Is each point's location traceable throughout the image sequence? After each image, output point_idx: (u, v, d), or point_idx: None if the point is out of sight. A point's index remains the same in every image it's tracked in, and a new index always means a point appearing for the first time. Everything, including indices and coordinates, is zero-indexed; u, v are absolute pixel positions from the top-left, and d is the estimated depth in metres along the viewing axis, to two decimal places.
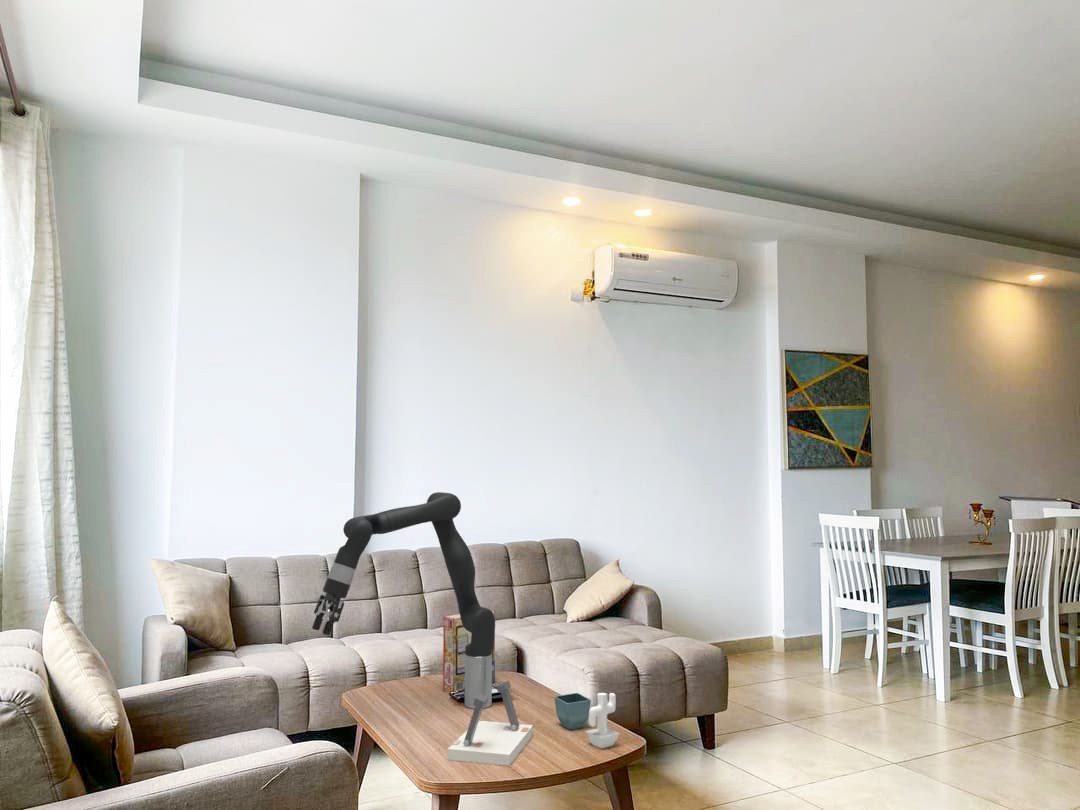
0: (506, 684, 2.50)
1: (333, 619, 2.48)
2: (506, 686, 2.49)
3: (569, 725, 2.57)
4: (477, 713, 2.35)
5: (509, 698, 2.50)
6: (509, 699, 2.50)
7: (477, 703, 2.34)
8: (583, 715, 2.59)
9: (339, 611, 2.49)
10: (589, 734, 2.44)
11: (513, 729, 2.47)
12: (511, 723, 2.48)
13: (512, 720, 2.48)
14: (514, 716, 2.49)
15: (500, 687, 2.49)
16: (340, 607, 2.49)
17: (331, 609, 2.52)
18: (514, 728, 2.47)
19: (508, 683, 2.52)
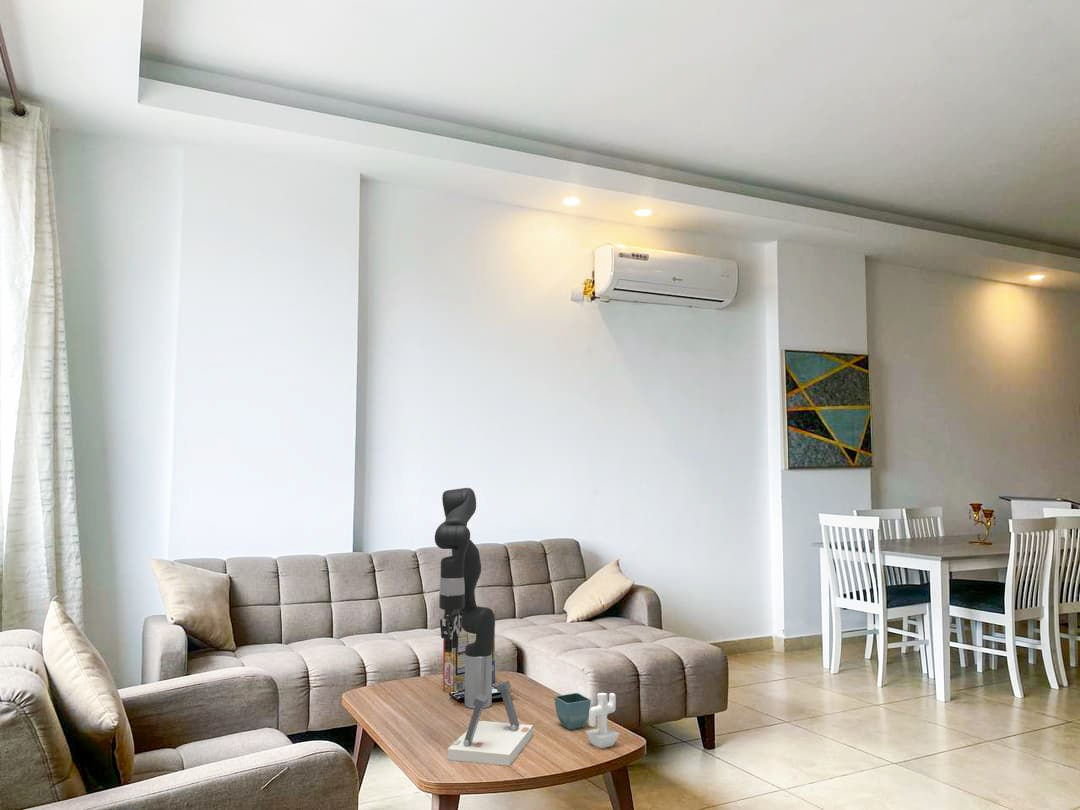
0: (506, 684, 2.50)
1: None
2: (506, 686, 2.49)
3: (569, 725, 2.57)
4: (477, 713, 2.35)
5: (509, 698, 2.50)
6: (509, 699, 2.50)
7: (477, 703, 2.34)
8: (583, 715, 2.59)
9: None
10: (589, 734, 2.44)
11: (513, 729, 2.47)
12: (511, 723, 2.48)
13: (512, 720, 2.48)
14: (514, 716, 2.49)
15: (500, 687, 2.49)
16: None
17: None
18: (514, 728, 2.47)
19: (508, 683, 2.52)
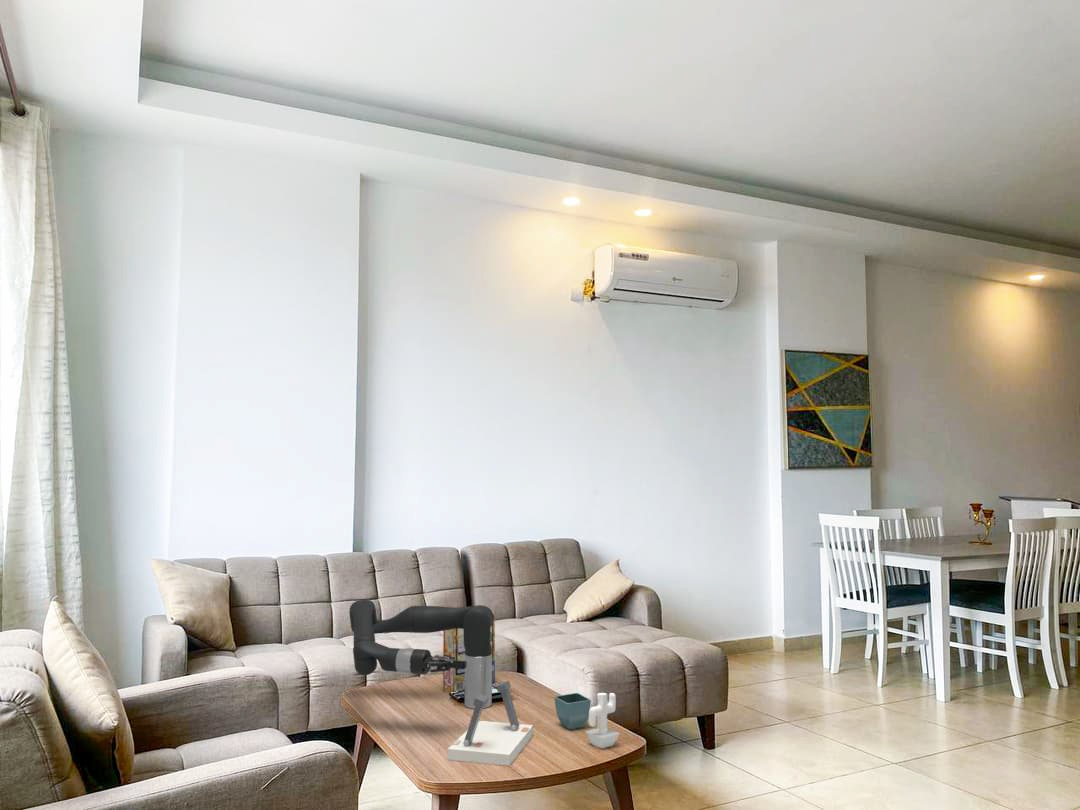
0: (506, 684, 2.50)
1: None
2: (506, 686, 2.49)
3: (569, 725, 2.57)
4: (477, 713, 2.35)
5: (509, 698, 2.50)
6: (509, 699, 2.50)
7: (477, 703, 2.34)
8: (583, 715, 2.59)
9: None
10: (589, 734, 2.44)
11: (513, 729, 2.47)
12: (511, 723, 2.48)
13: (512, 720, 2.48)
14: (514, 716, 2.49)
15: (500, 687, 2.49)
16: None
17: None
18: (514, 728, 2.47)
19: (508, 683, 2.52)
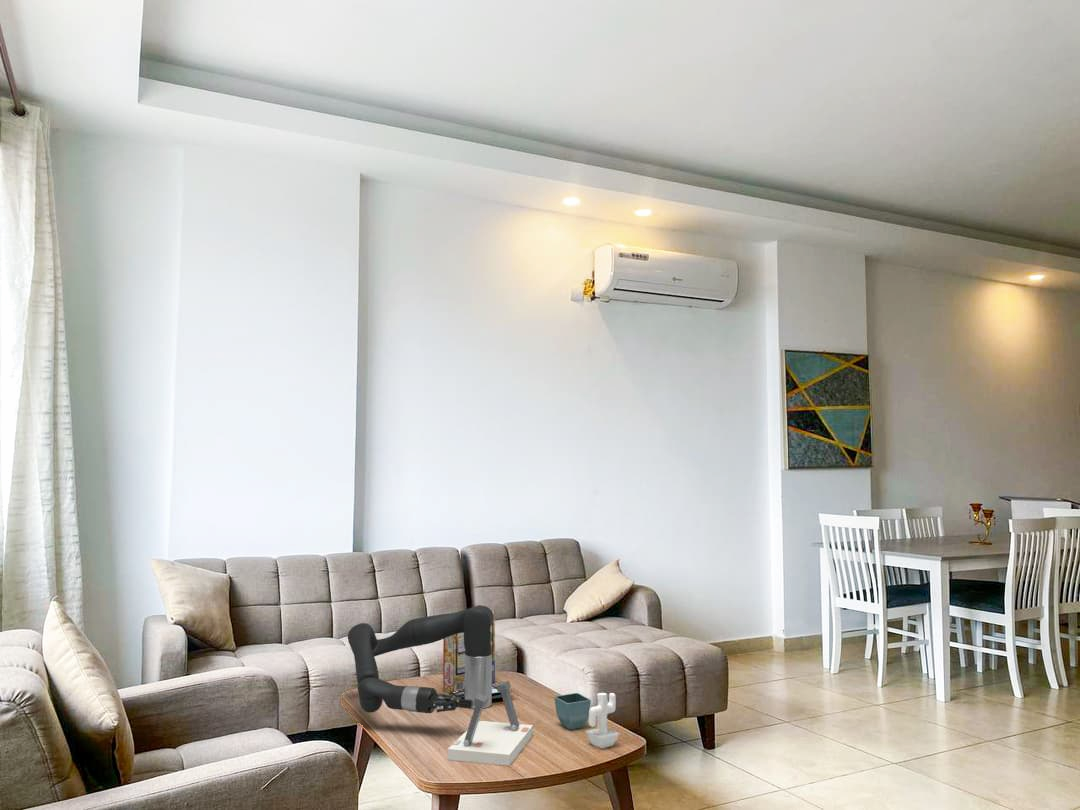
0: (506, 684, 2.50)
1: None
2: (506, 686, 2.49)
3: (569, 725, 2.57)
4: (477, 713, 2.35)
5: (509, 698, 2.50)
6: (509, 699, 2.50)
7: (477, 703, 2.34)
8: (583, 715, 2.59)
9: None
10: (589, 734, 2.44)
11: (513, 729, 2.47)
12: (511, 723, 2.48)
13: (512, 720, 2.48)
14: (514, 716, 2.49)
15: (500, 687, 2.49)
16: None
17: None
18: (514, 728, 2.47)
19: (508, 683, 2.52)
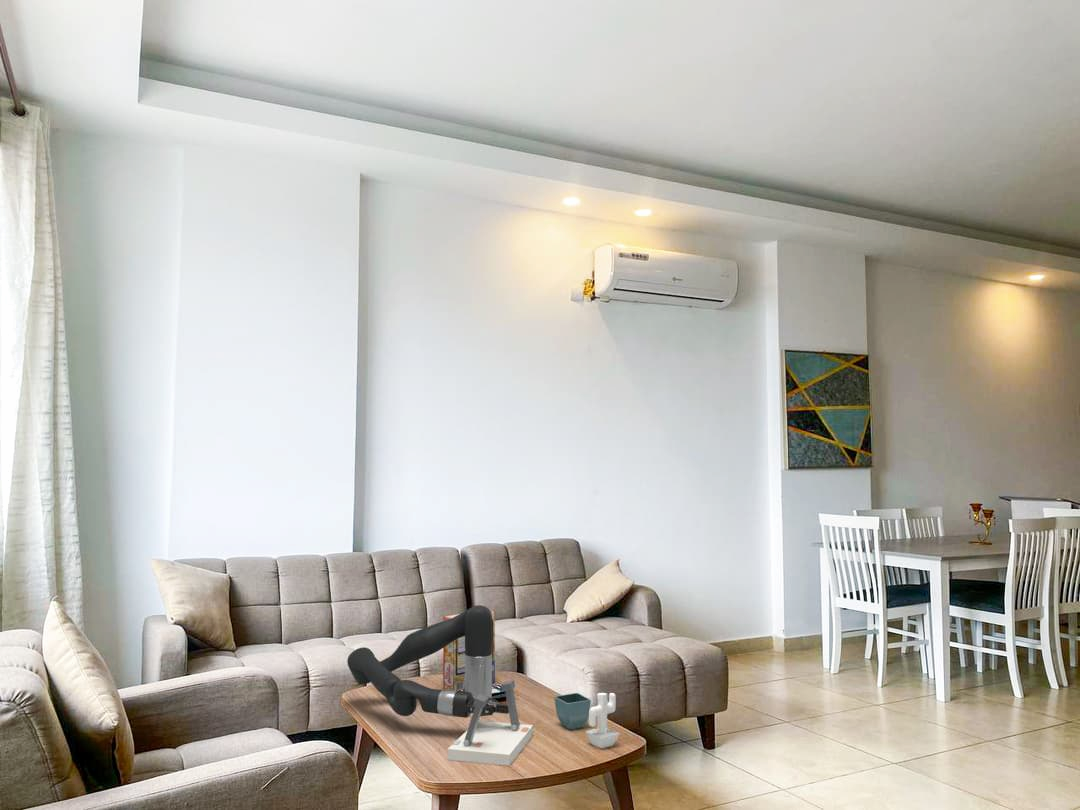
0: (511, 683, 2.50)
1: None
2: (511, 686, 2.49)
3: (569, 725, 2.57)
4: (477, 713, 2.35)
5: (512, 698, 2.50)
6: (513, 698, 2.50)
7: (477, 703, 2.34)
8: (583, 715, 2.59)
9: None
10: (589, 734, 2.44)
11: (513, 729, 2.47)
12: (512, 723, 2.48)
13: (513, 720, 2.48)
14: (515, 716, 2.49)
15: (505, 686, 2.49)
16: None
17: None
18: (514, 728, 2.47)
19: (513, 683, 2.51)
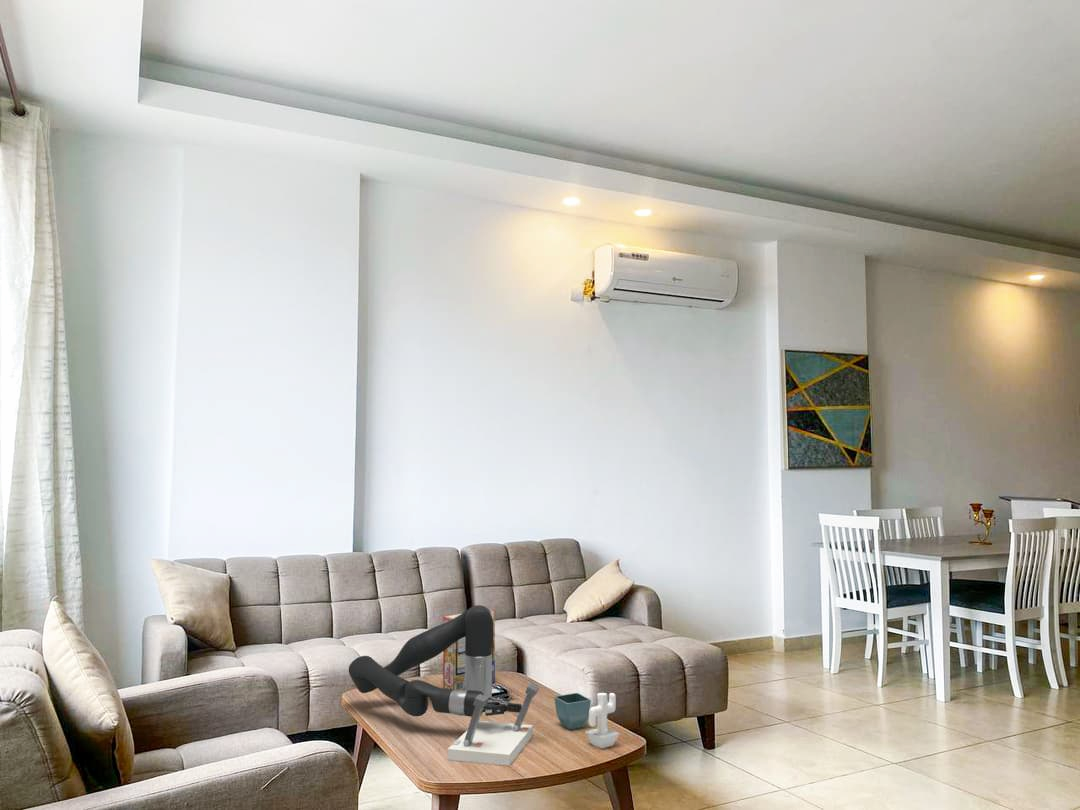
0: (536, 690, 2.48)
1: None
2: (535, 693, 2.47)
3: (569, 725, 2.57)
4: (477, 713, 2.35)
5: (529, 702, 2.49)
6: (529, 703, 2.49)
7: (477, 703, 2.34)
8: (583, 715, 2.59)
9: None
10: (589, 734, 2.44)
11: (514, 729, 2.47)
12: (516, 723, 2.48)
13: (519, 721, 2.48)
14: (522, 719, 2.49)
15: (530, 690, 2.47)
16: None
17: None
18: (516, 729, 2.47)
19: (537, 690, 2.49)
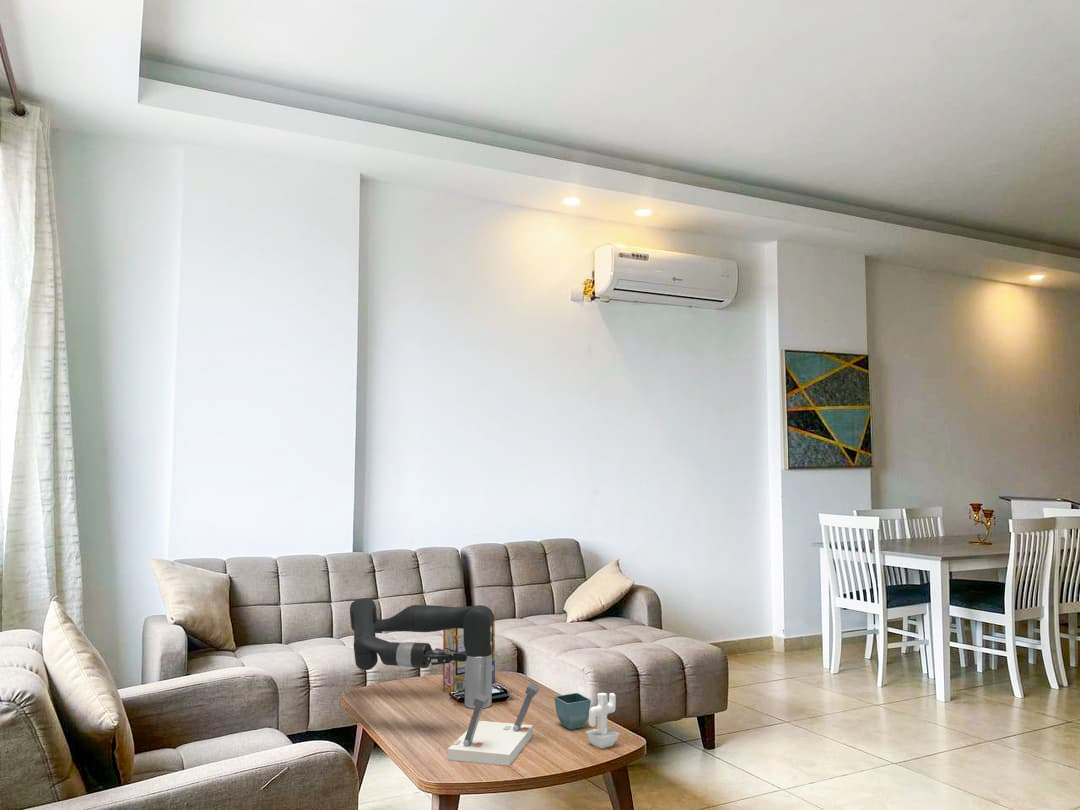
0: (536, 690, 2.48)
1: None
2: (535, 693, 2.47)
3: (569, 725, 2.57)
4: (477, 713, 2.35)
5: (529, 702, 2.49)
6: (529, 703, 2.49)
7: (477, 703, 2.34)
8: (583, 715, 2.59)
9: None
10: (589, 734, 2.44)
11: (514, 729, 2.47)
12: (516, 723, 2.48)
13: (519, 721, 2.48)
14: (522, 719, 2.49)
15: (530, 690, 2.47)
16: None
17: None
18: (516, 729, 2.47)
19: (537, 690, 2.49)
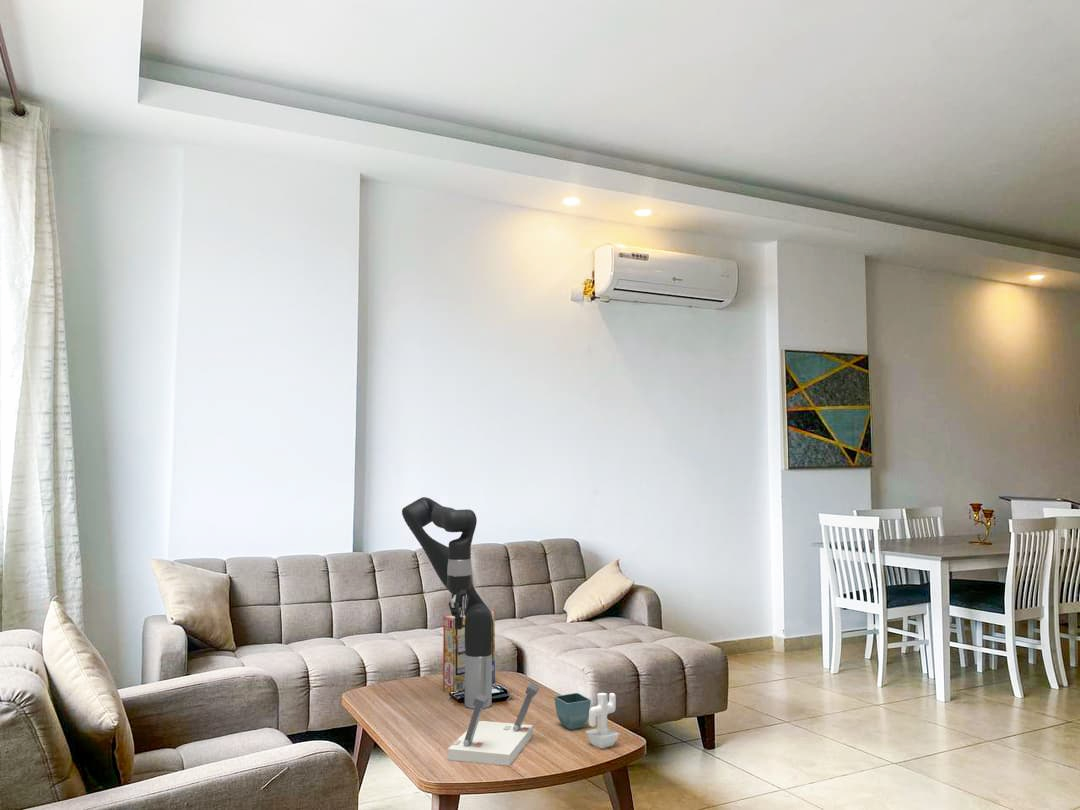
0: (536, 690, 2.48)
1: None
2: (535, 693, 2.47)
3: (569, 725, 2.57)
4: (477, 713, 2.35)
5: (529, 702, 2.49)
6: (529, 703, 2.49)
7: (477, 703, 2.34)
8: (583, 715, 2.59)
9: None
10: (589, 734, 2.44)
11: (514, 729, 2.47)
12: (516, 723, 2.48)
13: (519, 721, 2.48)
14: (522, 719, 2.49)
15: (530, 690, 2.47)
16: None
17: None
18: (516, 729, 2.47)
19: (537, 690, 2.49)
